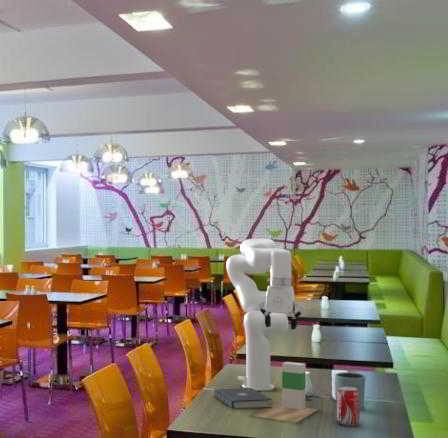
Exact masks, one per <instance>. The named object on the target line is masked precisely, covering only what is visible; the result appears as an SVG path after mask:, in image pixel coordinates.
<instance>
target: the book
mask: <svg viewBox="0 0 448 438" xmlns="http://www.w3.org/2000/svg"><path fill="white" fill-rule="evenodd" d="M213 394H214V397H215V398H216V399H218V400H219V401H220V402H222V403H224V404H225V405H226V406H227V407H229V408H231V409H233V410H236V409H237V410H239V409H241V410H242V409H243V410H244V409H265V408H272V407H271V405H270V404H269V401H272V400H273V399H272V398H270V397H269V396H267V395H265V394H263V393H261V391H256V390H254V389H252V388H243V387H234V388H233V387H231V388H230V387H229V388H214V392H213Z"/></svg>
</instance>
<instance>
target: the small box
mask: <svg viewBox="0 0 448 438" xmlns="http://www.w3.org/2000/svg"><path fill="white" fill-rule="evenodd" d="M343 372H349V371H348V370H344V369H331V396H332V398H333V399H334V400H335V401H337V380H336V374H337V373H343Z"/></svg>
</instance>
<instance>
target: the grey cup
mask: <svg viewBox="0 0 448 438" xmlns="http://www.w3.org/2000/svg"><path fill="white" fill-rule="evenodd" d="M366 378H367V376H366V375H365V374H363V373H359V372H358V373H357V372H352V371H351V372H350V371H348V372H343V373H337V374H336V380H337V392H338V390H339V387H343V386H347V387H354V388H357V391H358V393H359V411H363V410H364V407H365V392H366Z"/></svg>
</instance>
